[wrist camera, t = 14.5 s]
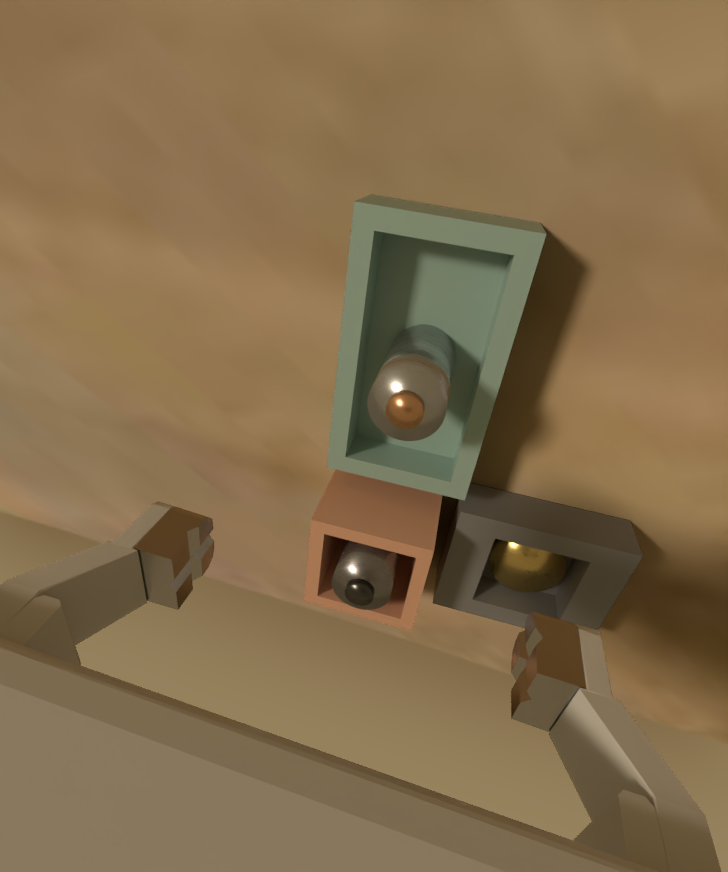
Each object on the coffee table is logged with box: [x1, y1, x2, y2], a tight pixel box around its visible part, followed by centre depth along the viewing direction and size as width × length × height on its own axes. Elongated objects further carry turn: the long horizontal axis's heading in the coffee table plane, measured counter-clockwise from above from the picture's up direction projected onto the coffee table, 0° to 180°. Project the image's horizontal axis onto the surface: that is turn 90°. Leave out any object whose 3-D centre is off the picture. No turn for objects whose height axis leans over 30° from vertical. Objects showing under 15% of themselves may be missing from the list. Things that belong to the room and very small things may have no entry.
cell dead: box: [332, 540, 400, 610], centre depth 30 cm, size 3×3×6 cm
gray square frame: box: [433, 483, 643, 630], centre depth 31 cm, size 10×8×3 cm
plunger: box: [489, 539, 566, 592], centre depth 31 cm, size 5×5×1 cm
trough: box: [327, 195, 546, 501], centre depth 25 cm, size 8×14×3 cm, turn 173°
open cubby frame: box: [304, 469, 442, 631], centre depth 30 cm, size 7×7×6 cm
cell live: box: [367, 324, 456, 441], centre depth 23 cm, size 3×3×6 cm
